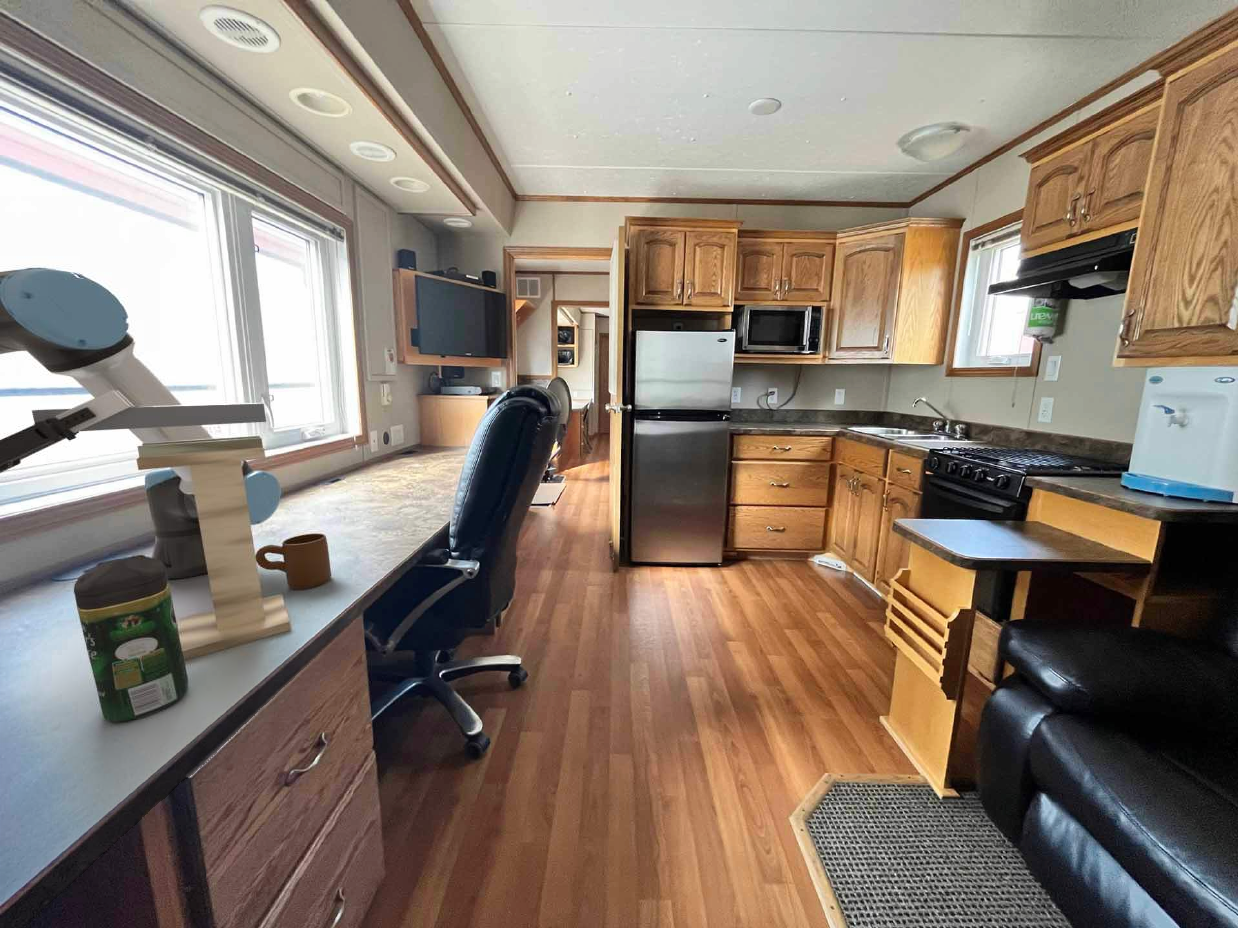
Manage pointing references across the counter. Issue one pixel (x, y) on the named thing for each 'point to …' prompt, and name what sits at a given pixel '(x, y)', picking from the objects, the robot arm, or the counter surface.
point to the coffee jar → (131, 637)
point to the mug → (300, 560)
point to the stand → (222, 543)
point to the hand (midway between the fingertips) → (123, 398)
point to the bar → (170, 416)
